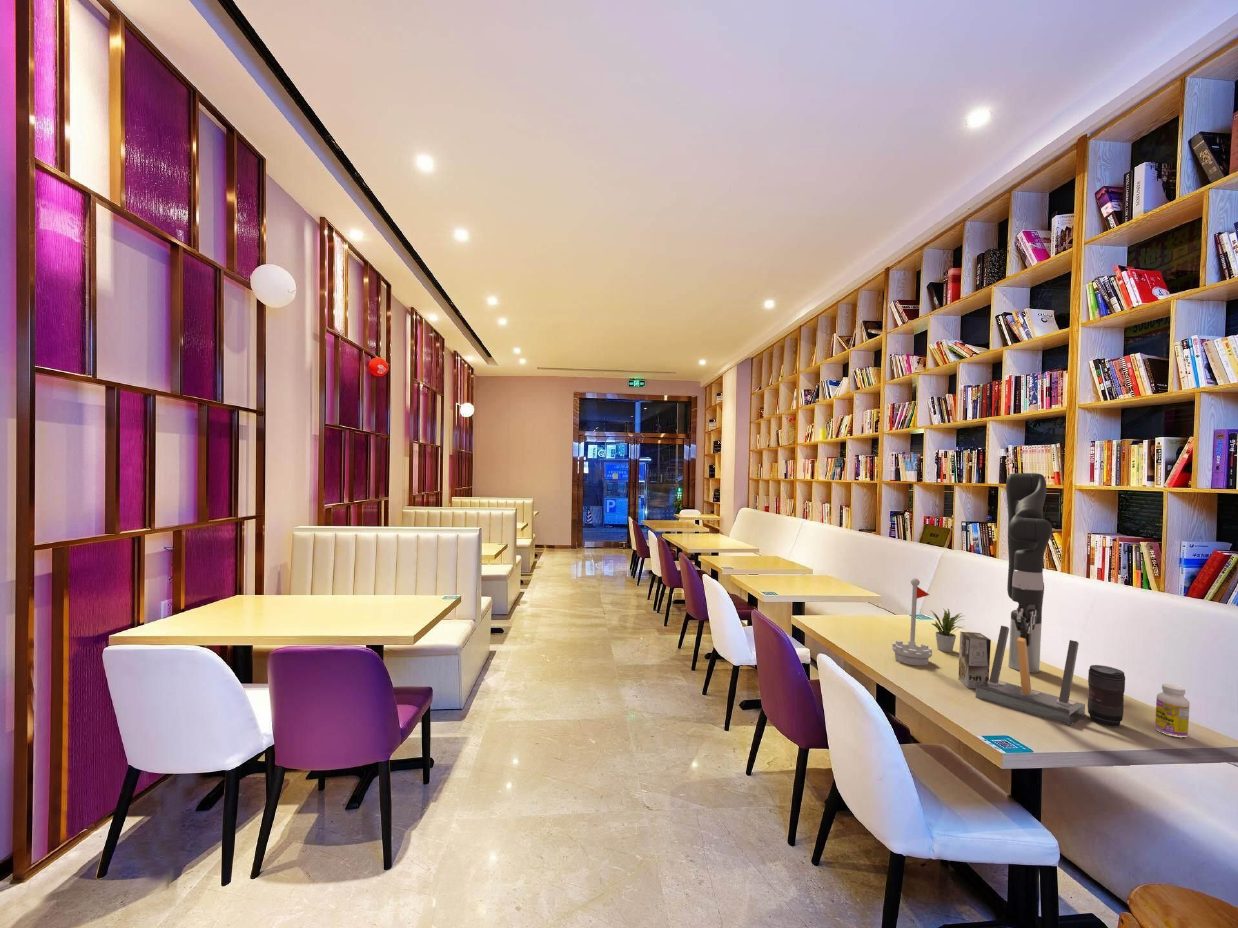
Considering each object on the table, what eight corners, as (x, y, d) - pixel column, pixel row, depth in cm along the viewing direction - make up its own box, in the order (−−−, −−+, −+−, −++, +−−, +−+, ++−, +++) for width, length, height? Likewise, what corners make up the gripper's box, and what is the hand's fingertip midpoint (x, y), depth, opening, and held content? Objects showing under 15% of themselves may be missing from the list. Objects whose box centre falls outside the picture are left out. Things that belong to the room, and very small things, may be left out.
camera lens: (1079, 718, 173) (1082, 665, 173) (1097, 714, 176) (1099, 663, 176) (1112, 729, 165) (1114, 675, 165) (1129, 726, 168) (1132, 672, 169)
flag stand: (885, 658, 221) (889, 576, 221) (900, 652, 230) (904, 573, 230) (922, 668, 212) (927, 582, 212) (937, 661, 220) (941, 579, 220)
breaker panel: (993, 688, 194) (993, 676, 194) (1084, 714, 176) (1085, 701, 176) (975, 696, 186) (976, 684, 186) (1069, 725, 167) (1070, 711, 167)
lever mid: (1022, 692, 181) (1016, 636, 177) (1033, 695, 179) (1027, 638, 175) (1020, 695, 180) (1014, 639, 176) (1031, 698, 178) (1025, 642, 174)
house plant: (976, 657, 228) (978, 614, 228) (939, 655, 228) (941, 612, 229) (956, 646, 243) (958, 605, 243) (921, 644, 243) (923, 603, 243)
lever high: (1057, 705, 174) (1069, 641, 179) (1069, 708, 172) (1080, 643, 177) (1056, 703, 173) (1067, 639, 178) (1067, 706, 171) (1079, 641, 176)
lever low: (988, 685, 188) (1001, 626, 193) (998, 688, 186) (1011, 628, 191) (986, 683, 187) (999, 625, 192) (996, 686, 185) (1009, 627, 190)
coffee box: (989, 690, 192) (991, 639, 192) (967, 688, 193) (969, 637, 194) (978, 681, 201) (980, 632, 201) (957, 678, 202) (959, 630, 202)
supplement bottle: (1148, 728, 168) (1150, 681, 168) (1170, 728, 168) (1172, 682, 169) (1172, 739, 161) (1174, 690, 161) (1194, 739, 162) (1197, 691, 162)
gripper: (1020, 581, 184) (1018, 638, 184) (1004, 586, 176) (1002, 645, 176) (1050, 586, 178) (1047, 645, 178) (1034, 590, 170) (1032, 652, 170)
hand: (1024, 645), depth 177 cm, fingers closed
